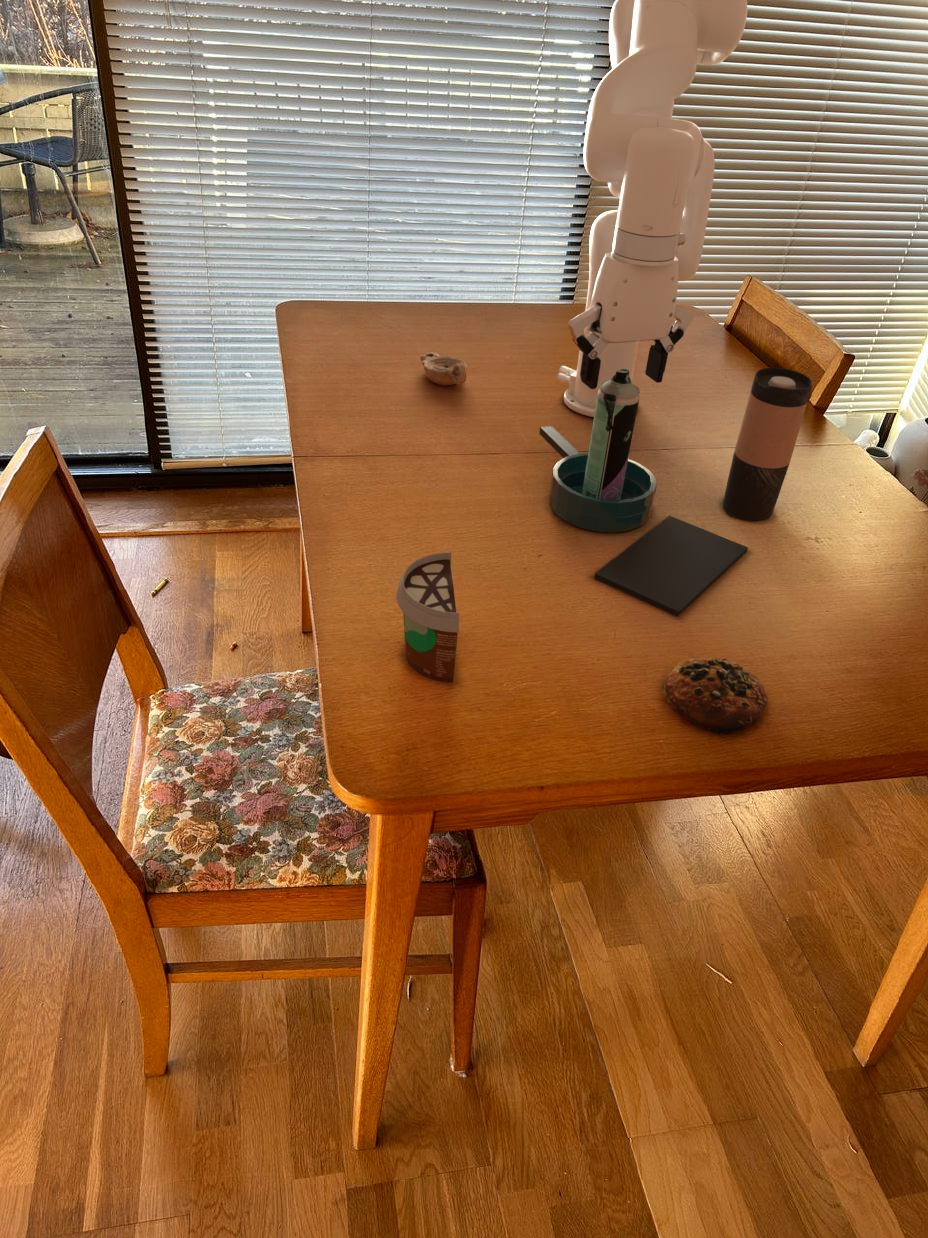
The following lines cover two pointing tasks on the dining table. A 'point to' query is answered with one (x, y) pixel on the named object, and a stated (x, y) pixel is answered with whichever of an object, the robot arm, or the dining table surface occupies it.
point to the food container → (430, 616)
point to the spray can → (611, 437)
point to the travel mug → (766, 442)
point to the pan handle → (557, 441)
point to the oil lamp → (444, 369)
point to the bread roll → (715, 694)
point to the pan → (600, 511)
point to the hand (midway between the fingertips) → (621, 381)
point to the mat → (671, 565)
